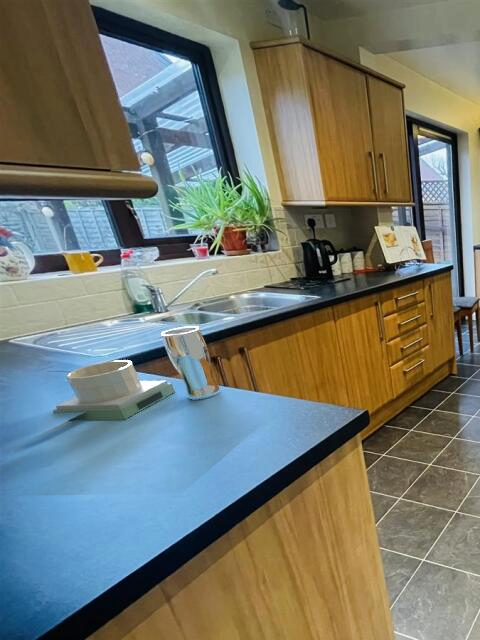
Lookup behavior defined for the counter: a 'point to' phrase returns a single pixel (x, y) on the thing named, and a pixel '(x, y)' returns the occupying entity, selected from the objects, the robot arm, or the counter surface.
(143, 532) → the counter surface
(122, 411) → the scale
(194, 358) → the beer glass
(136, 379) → the bowl
